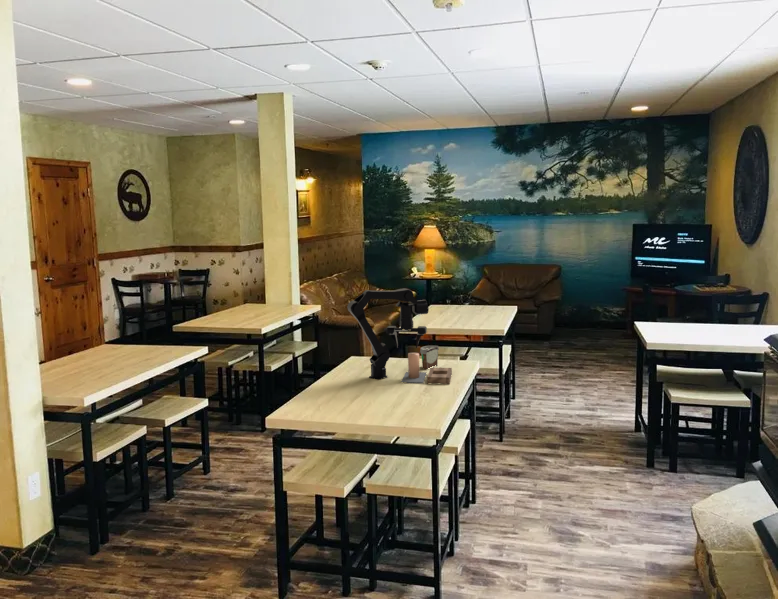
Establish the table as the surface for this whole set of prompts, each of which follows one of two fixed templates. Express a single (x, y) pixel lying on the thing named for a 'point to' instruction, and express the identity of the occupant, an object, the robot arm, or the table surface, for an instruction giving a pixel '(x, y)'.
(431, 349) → the food container
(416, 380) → the mat
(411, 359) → the pink tall rounded piece
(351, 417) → the table surface
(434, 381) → the well block
